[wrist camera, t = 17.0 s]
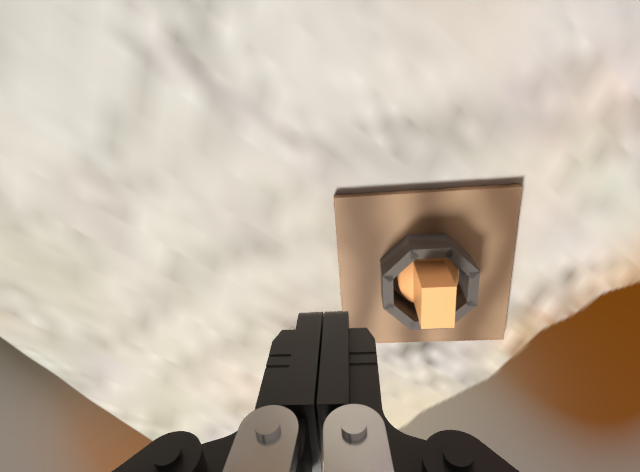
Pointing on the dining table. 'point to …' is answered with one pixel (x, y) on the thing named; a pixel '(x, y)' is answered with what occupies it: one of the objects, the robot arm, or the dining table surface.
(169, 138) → the dining table surface
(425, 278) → the peach knob
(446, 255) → the square base with nut
